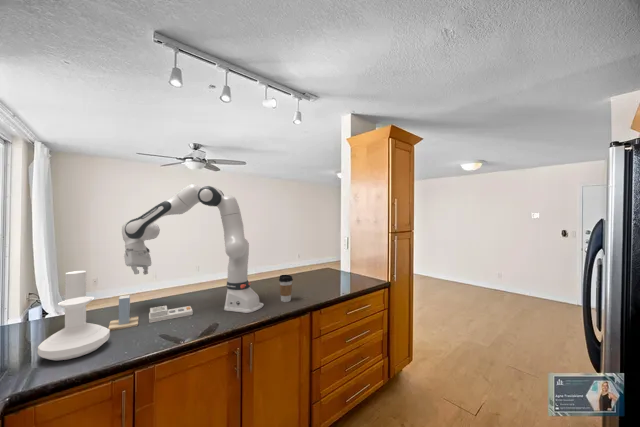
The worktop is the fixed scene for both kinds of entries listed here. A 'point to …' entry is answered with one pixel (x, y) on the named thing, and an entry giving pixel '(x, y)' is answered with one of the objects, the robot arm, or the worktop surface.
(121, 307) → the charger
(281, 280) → the coffee cup
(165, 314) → the power strip
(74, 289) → the cylindrical container
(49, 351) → the candle holder
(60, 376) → the worktop surface
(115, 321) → the oak pad
